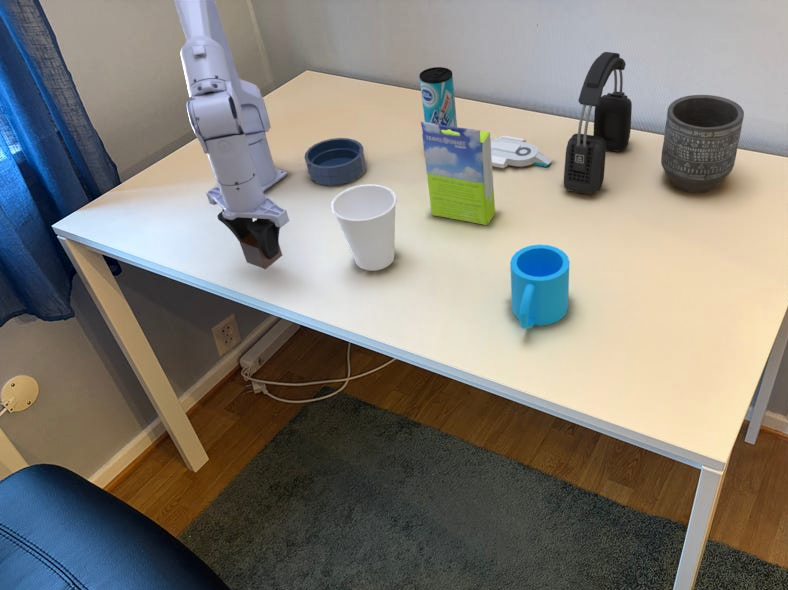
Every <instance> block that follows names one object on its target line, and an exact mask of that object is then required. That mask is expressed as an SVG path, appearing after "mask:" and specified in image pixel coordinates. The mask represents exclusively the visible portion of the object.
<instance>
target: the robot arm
mask: <svg viewBox="0 0 788 590" xmlns="http://www.w3.org/2000/svg"><path fill="white" fill-rule="evenodd" d="M173 2H174V5H175V8H176V13H177V15H178V18H179V22H180V25H181V27H182V31H183V34H184V37H185V40H186V42H185V43H184V44H183V45H182V47H181V49H180V52H179V53H180V58H181V64H182V68H183V69H182V70H183V73H184V78H185V82H186V86H187V92H188V96H189V100H187V101H186V110H187V115H188V118H189V122H190V125H191V128H192V130H193V132H194V134H195V136H196V138H197V140H198V141H199V144H200V146H201V148H202V151H203V153H204V154H205V155H206V156H207V158H208V161H209V163H210V167H211V170H212V172H213V175H214V177H215V181H216V183H217V186H214V187H213V188H211V189H209V190H208V191H206V192H205V194H206V198H207V200H208V203H209V204H210V205H213V206H215V205H218V206H219V207H220V208H221V209H222V211H221V212H219V213H218V214H217V219H218V221H219V222H220V223H222V224H223V225H224V226H225V227H227V229H229V231H230V232H231V233H232V235H234V236H235V238H236V239H237V240H238V242H239V243H240V241H241V240H242V239H244V238H245V237H246V236H248V235H249V234H250V233H252V234H253V235H254V236H255V237H256V239H257V240H258V242H259V244H260V246H261V248H262V251H263V253H264V254H265V256H266V257H267V259H272V258H273V257H274V256H276V255H277V254H278V253H279V246H280V241H279V240H280V239H279V237H280V231H281V229H282V227H284V226H285V225H286V224H288V223H289V222H290V217H289V214H288V211H287V209H284V208H282V207H281V206H279V205H278V204H276V202H274V201H273V200H272V199H271V198H270V197H268V196H267V195H266V194H265V193H264V192H265V191H267V190H268V189H269V188H271V187H273V186H274V185H275V184H276V183H278V182H279V181H281V180H282V179H284V178H285V177H286V176H288V172H287V171H286V170H282V169H279V168H276V166H275V162H274V159H273V155H272V152H271V148H270V146H269V142H268V138H267V135H266V134H267V133H269V132H270V130H271V128H272V127H271V121H270V117H269V114H268V110H267V105H266V103H265V99H264V98H263V95H262V93H261V89H260V88H259V87H258V85H256V84H254V83H252V82H249V81H246V80H244V79H242V78H240V75H239V72H238V69H237V66H236V63H235V59H234V56H233V53H232V49H231V46H230V42H229V40H228V36H227V33H226V30H225V26H224V23H223V20H222V16H221V14H220V10H219V6H218V4H217V1H216V0H173ZM254 219H255V220H254Z"/></svg>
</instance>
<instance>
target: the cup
mask: <svg viewBox="0 0 788 590" xmlns="http://www.w3.org/2000/svg"><path fill="white" fill-rule="evenodd" d="M397 197H398V196H397V194H396V193H395V192H394V190H393V189H391V188H390V187H388V186H385V185H381V184H373V183H369V184H368V183H367V184H359V185H354V186H352V187H348V188H347V189H344V190H342V191H341V192H339V193H338V194H337V195H336V196H335V197H334V198H333V199H332V201H331V204H330V209H331V212H332V214H333V215H334V216H335V218H336V220H337V222H338V225H339V227H340V230H341V231H342V233H343V236H344V238H345V240H346V243H347V245H348V247H349V249H350V251H351V254H352V257H353V258H354V261H355V263H356V265H357V266H358V267H359V268H360V269H363V270H364V271H368V272H369V271H370V272H377V271H381V270H384V269H386V268H388V267H389V266H390V265H392V263H393V262H394V261H395V252H396V251H395V248H396V247H395V245H396V244H395V241H396V206H397V203H398V198H397Z"/></svg>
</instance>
